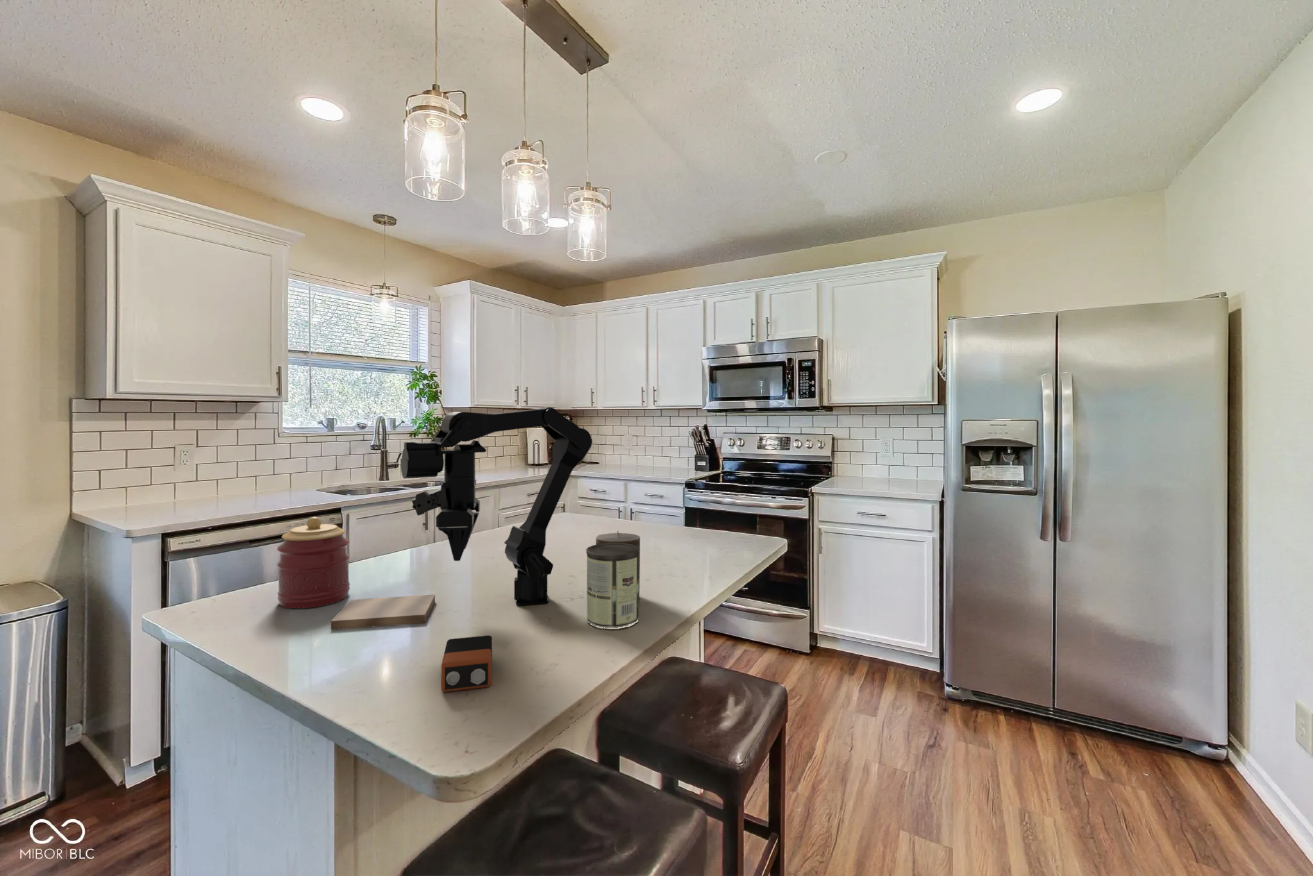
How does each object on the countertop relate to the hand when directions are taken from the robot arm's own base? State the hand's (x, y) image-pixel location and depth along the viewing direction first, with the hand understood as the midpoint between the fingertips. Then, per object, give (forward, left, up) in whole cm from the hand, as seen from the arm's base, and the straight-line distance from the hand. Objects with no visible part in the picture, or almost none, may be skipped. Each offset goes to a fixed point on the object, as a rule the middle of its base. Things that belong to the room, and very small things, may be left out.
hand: (459, 554), depth 107 cm
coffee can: (-29, +9, -12) cm, 33 cm away
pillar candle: (-32, -3, -12) cm, 34 cm away
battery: (-4, +22, -10) cm, 25 cm away
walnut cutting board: (+14, -3, -12) cm, 19 cm away
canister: (+31, -16, -12) cm, 37 cm away
